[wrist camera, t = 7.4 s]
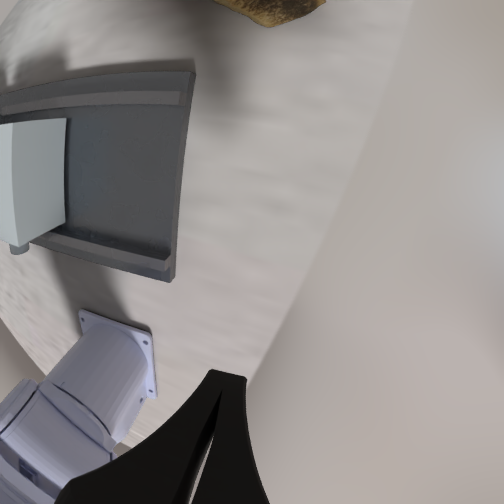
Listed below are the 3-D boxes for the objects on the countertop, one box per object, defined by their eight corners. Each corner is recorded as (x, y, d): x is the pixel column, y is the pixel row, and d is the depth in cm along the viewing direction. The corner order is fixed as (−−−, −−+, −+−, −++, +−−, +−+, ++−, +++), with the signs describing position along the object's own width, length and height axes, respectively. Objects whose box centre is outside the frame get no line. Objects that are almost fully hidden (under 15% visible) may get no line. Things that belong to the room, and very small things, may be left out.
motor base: (175, 276, 21) (137, 323, 16) (-11, 223, 23) (-48, 242, 17) (196, 74, 15) (151, 52, 10) (-13, 100, 17) (-55, 106, 12)
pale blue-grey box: (67, 245, 20) (23, 273, 15) (8, 227, 21) (-30, 248, 16) (66, 118, 16) (12, 122, 11) (4, 124, 17) (-39, 132, 12)
